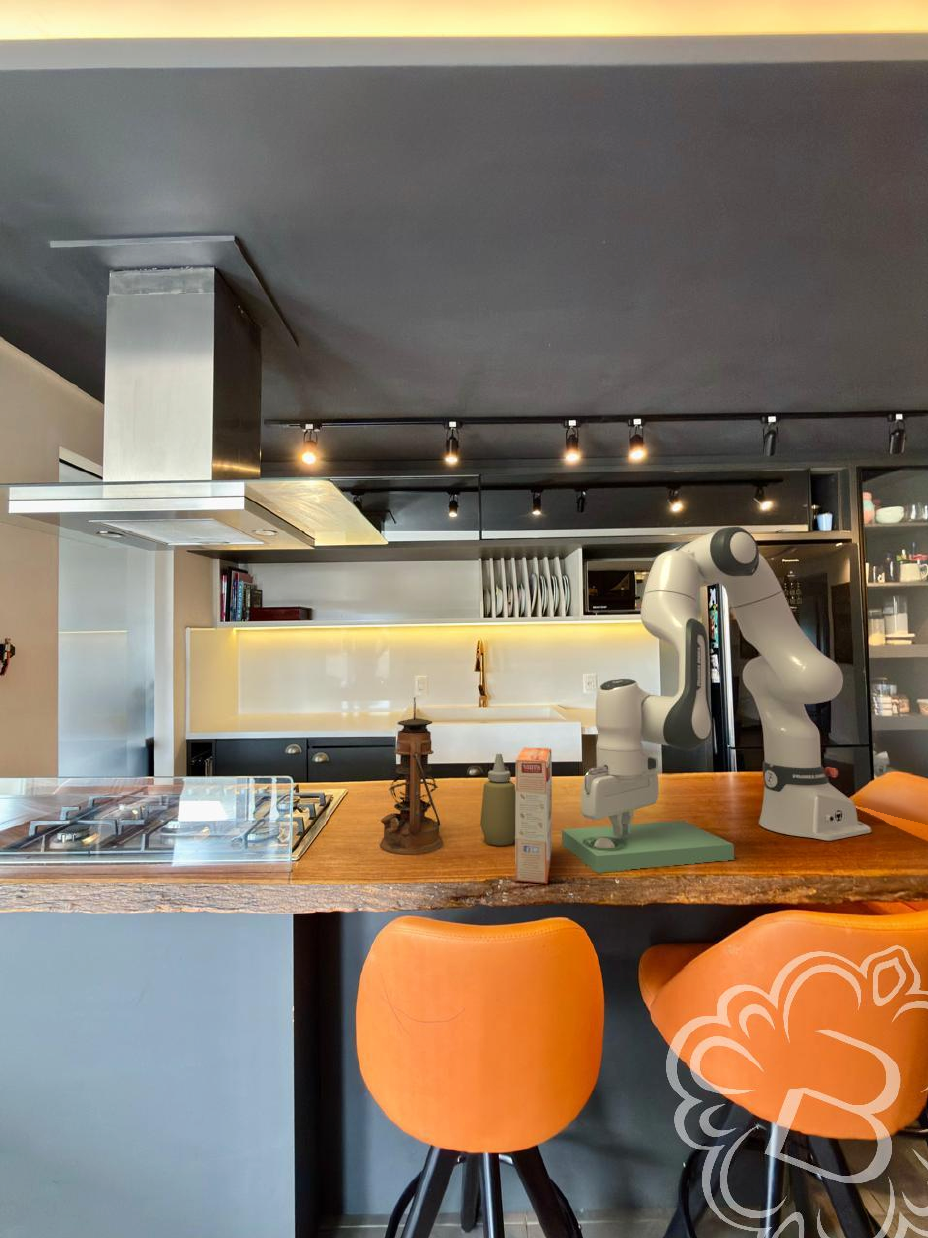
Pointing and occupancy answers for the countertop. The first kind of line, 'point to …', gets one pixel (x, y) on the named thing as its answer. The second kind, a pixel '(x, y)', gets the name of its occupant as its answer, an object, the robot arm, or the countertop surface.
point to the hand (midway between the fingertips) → (621, 834)
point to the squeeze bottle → (498, 806)
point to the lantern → (412, 794)
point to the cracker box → (533, 815)
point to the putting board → (647, 846)
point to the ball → (604, 843)
